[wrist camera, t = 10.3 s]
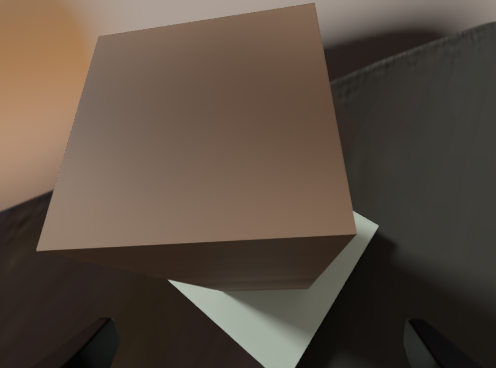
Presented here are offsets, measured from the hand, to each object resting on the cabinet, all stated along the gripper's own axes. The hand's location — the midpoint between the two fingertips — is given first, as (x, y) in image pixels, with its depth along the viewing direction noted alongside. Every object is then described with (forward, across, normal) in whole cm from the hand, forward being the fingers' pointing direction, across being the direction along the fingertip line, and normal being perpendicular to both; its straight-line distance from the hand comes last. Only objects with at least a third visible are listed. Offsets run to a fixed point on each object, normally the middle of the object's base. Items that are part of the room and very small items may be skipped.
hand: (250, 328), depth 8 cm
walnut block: (+8, 0, +2) cm, 8 cm away
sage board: (+9, 0, +4) cm, 10 cm away
